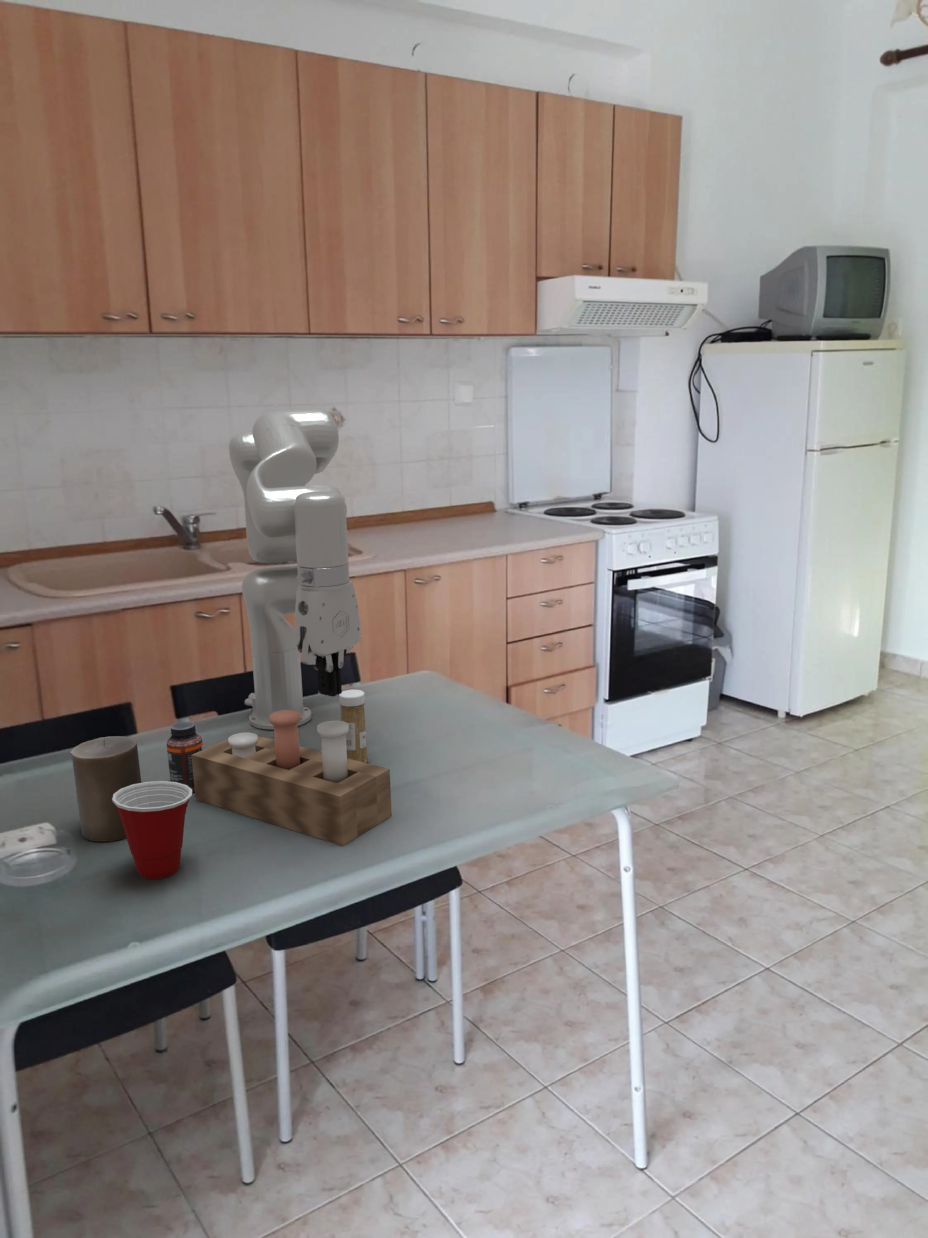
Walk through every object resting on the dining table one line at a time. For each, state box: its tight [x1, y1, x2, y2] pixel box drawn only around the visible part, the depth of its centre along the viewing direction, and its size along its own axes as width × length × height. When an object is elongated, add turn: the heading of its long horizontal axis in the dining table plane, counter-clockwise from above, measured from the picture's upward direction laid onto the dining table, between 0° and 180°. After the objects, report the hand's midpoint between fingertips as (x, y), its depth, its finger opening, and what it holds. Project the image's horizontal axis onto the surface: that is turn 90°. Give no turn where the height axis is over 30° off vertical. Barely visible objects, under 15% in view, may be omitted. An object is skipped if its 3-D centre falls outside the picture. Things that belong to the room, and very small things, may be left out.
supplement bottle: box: [166, 721, 204, 793], centre depth 167 cm, size 6×6×11 cm
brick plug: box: [270, 710, 301, 770], centre depth 157 cm, size 5×5×10 cm
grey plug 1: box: [227, 732, 259, 758], centre depth 164 cm, size 5×5×10 cm
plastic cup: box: [112, 780, 193, 880], centre depth 139 cm, size 11×11×12 cm
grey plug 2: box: [316, 720, 349, 783], centre depth 152 cm, size 5×5×10 cm
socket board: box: [191, 735, 392, 847], centre depth 159 cm, size 32×12×8 cm, turn 57°
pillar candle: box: [70, 735, 143, 842], centre depth 152 cm, size 10×10×15 cm
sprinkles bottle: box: [338, 689, 369, 763], centre depth 176 cm, size 5×5×14 cm
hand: (330, 693), depth 149 cm, fingers closed
